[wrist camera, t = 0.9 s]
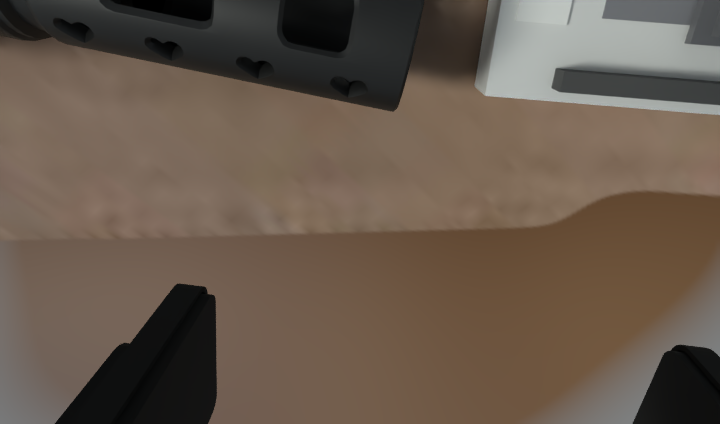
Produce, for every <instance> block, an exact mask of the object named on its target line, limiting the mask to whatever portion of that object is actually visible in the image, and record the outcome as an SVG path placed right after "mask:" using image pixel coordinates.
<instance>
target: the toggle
mask: <svg viewBox="0 0 720 424" xmlns="http://www.w3.org/2000/svg"><path fill="white" fill-rule="evenodd" d="M685 44H694V45H707V46H720V0H698V2H697V5H696V8H695V12H694V15H693V18H692V21H691V24H690V27H689V30H688V33H687V36H686V39H685Z"/></svg>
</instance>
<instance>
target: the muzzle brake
mask: <svg viewBox="0 0 720 424" xmlns="http://www.w3.org/2000/svg"><path fill="white" fill-rule="evenodd" d="M423 5H424V0H0V36H5V37H10V38H15V39H20V40H30V41H37V40H41V39H46V38H50V37H54V38H55V39H57V40H58V41H61V42H63V43H66V44H69V45H73V46H78V47H83V48H88V49H93V50H98V51H102V52H107V53H112V54H117V55H122V56H127V57H131V58H136V59H141V60H146V61H151V62H156V63H160V64H165V65H170V66H175V67H180V68H184V69H189V70H194V71H199V72H204V73H209V74H213V75H218V76H223V77H228V78H233V79H238V80H242V81H247V82H252V83H257V84H262V85H267V86H271V87H276V88H281V89H286V90H291V91H296V92H300V93H305V94H310V95H315V96H320V97H324V98H329V99H334V100H339V101H344V102H349V103H353V104H358V105H363V106H368V107H373V108H378V109H382V110H387V111H392V112H393V111H395V110H396V109H397V107H398V105H399V102H400V99H401V96H402V93H403V89H404V86H405V82H406V78H407V74H408V70H409V66H410V62H411V58H412V54H413V50H414V46H415V42H416V37H417V33H418V28H419V24H420V19H421V14H422V9H423Z"/></svg>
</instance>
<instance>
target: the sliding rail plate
mask: <svg viewBox="0 0 720 424" xmlns="http://www.w3.org/2000/svg"><path fill="white" fill-rule="evenodd" d="M551 88H552V89H554V90H556V91H558V92H563V93H575V94H587V95H600V96H612V97H624V98H636V99H649V100H661V101H673V102H685V103H698V104H710V105H720V81H708V80H695V79H683V78H671V77H658V76H646V75H634V74H621V73H609V72H596V71H584V70H572V69H559V68H556V69H555V74H554V78H553V83H552V87H551Z"/></svg>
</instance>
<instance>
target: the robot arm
mask: <svg viewBox="0 0 720 424" xmlns="http://www.w3.org/2000/svg"><path fill="white" fill-rule="evenodd" d="M215 303H216V301H215V296H214V295H209V294H207V289H206V288H205V287H202V286H194V285H186V284H177V285H175V286H174V288H173V289H172V290H171V291H170V293H169V294H168V295H167V296H166V298H165V299H164V300H163V302H162V303H161V304H160V306H159V307H158V308H157V309H156V311H155V312H154V313H153V315H152V316H151V317H150V318H149V320H148V321H147V322H146V324H145V325H144V326H143V328H142V329H141V330H140V331H139V333H138V334H137V335H136V337H135V338H134V339H133V341H132V342H131V343H130V344H129V343H123V344H121V345H119V346H118V347H117V348H116V349H115V350H114V351H113V352H112V353H111V355H110V356H109V357H108V358H107V359H106V361H105V362H104V363H103V364H102V366H101V367H100V368H99V369H98V371H97V372H96V373H95V374H94V376H93V377H92V378H91V379H90V381H89V382H88V383H87V384H86V386H85V387H84V388H83V390H82V391H81V392H80V393H79V394H78V396H77V397H76V398H75V399H74V401H73V402H72V403H71V404H70V405H69V407H68V408H67V409H66V411H65V412H64V413H63V414H62V415H61V417H60V418H59V419H58V420H57V422H56V423H55V424H208V422H209V420H210V418H211V415H212V413H213V410H214V407H215V403H216V396H217V378H216V304H215ZM633 424H720V357H719V356H718V355H717V354H716V353H715V352H714V351H712V350H711V349H708V348H703V347H695V346H686V345H676V346H675V347H674V348H672V350H671V351H667V352H666V353H664V355H663V357H662V359H661V361H660V363H659V366H658V368H657V370H656V372H655V375H654V377H653V379H652V382H651V384H650V386H649V388H648V390H647V393H646V395H645V397H644V399H643V401H642V404H641V406H640V408H639V411H638V413H637V415H636V418H635V419H634V422H633Z"/></svg>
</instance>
